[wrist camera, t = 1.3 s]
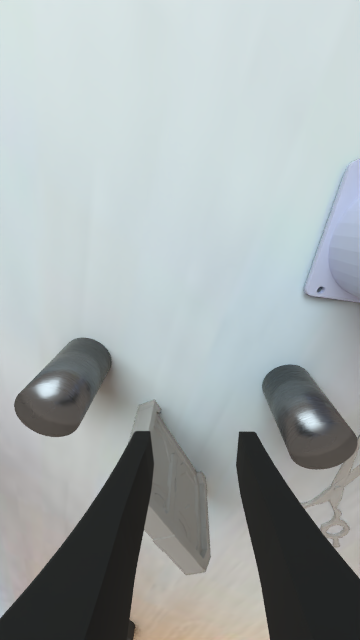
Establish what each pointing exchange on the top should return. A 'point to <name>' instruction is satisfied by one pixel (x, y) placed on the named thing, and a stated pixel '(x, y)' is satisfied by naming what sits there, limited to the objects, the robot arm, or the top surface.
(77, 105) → the top surface
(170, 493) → the light switch
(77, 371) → the post
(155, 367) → the top surface
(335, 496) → the scissors
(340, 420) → the post
